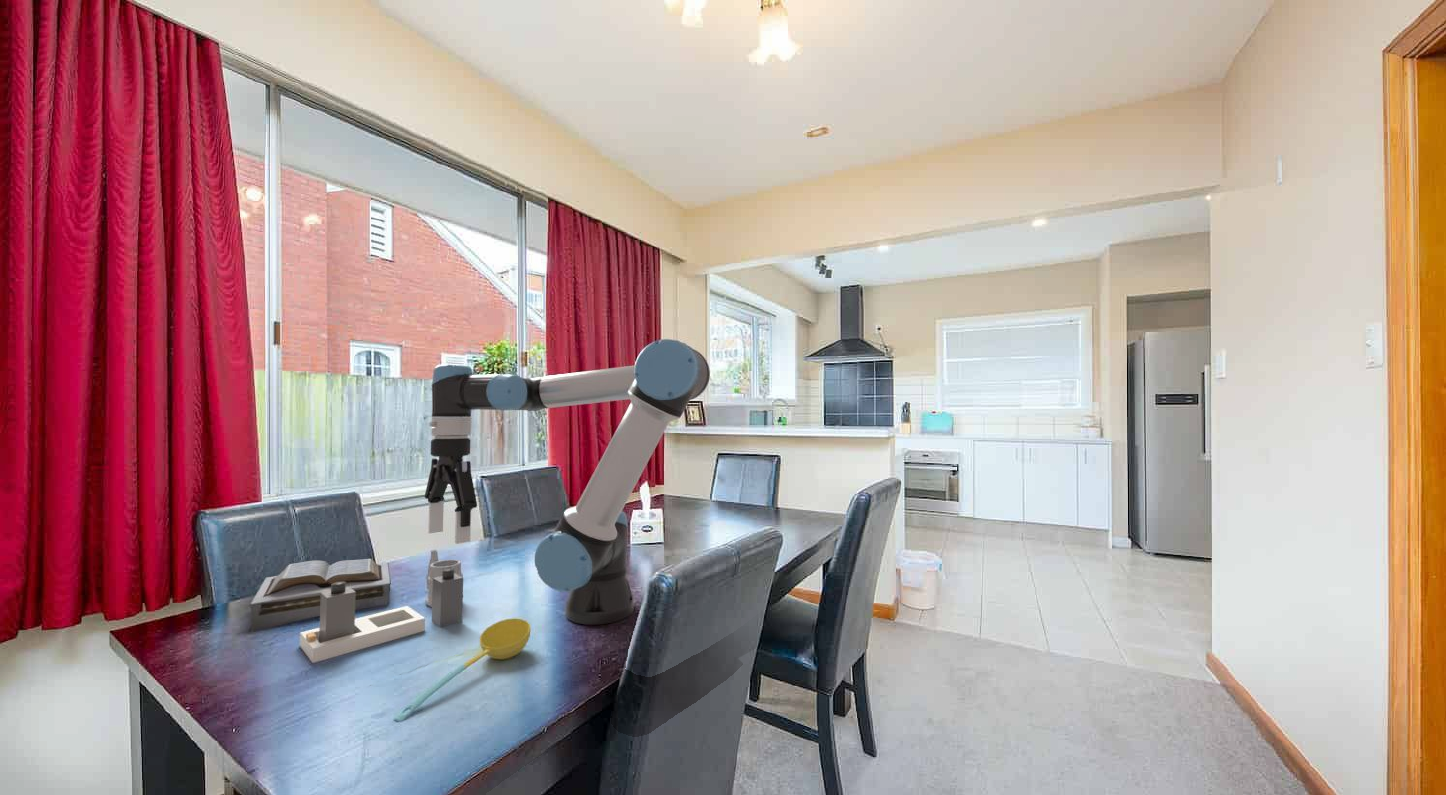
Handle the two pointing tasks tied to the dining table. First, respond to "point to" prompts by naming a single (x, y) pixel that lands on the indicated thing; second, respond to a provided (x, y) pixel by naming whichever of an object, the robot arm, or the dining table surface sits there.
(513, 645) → the ladle
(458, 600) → the plug
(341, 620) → the twin plug
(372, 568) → the bible
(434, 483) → the robot arm
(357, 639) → the strip
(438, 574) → the mug
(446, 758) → the dining table surface
